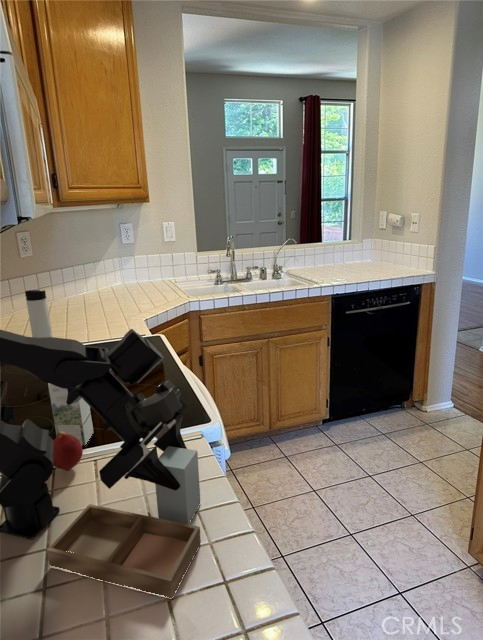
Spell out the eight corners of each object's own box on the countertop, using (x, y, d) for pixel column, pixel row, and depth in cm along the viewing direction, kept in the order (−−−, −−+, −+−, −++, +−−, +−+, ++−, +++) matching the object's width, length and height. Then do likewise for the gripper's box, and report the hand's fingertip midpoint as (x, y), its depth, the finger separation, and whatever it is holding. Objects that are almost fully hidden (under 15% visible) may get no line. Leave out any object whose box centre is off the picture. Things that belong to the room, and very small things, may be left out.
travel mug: (29, 347, 149) (19, 290, 144) (42, 341, 155) (34, 287, 150) (44, 349, 147) (35, 291, 142) (57, 342, 154) (49, 287, 148)
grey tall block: (158, 520, 67) (153, 464, 65) (172, 499, 72) (168, 446, 69) (188, 526, 66) (184, 469, 63) (200, 504, 70) (197, 450, 68)
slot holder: (50, 568, 59) (46, 550, 58) (91, 520, 68) (89, 504, 67) (172, 600, 54) (170, 581, 53) (200, 544, 62) (199, 526, 62)
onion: (74, 457, 85) (69, 420, 82) (90, 467, 81) (85, 429, 79) (45, 471, 80) (39, 433, 78) (61, 483, 77) (55, 443, 75)
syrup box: (94, 432, 93) (86, 370, 89) (85, 448, 88) (76, 381, 84) (67, 433, 93) (58, 371, 89) (57, 449, 87) (46, 382, 83)
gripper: (109, 401, 55) (194, 490, 55) (172, 352, 72) (237, 419, 72) (65, 447, 59) (144, 529, 59) (135, 390, 77) (196, 454, 76)
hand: (185, 477), depth 67 cm, fingers closed on grey tall block, 5 cm apart
